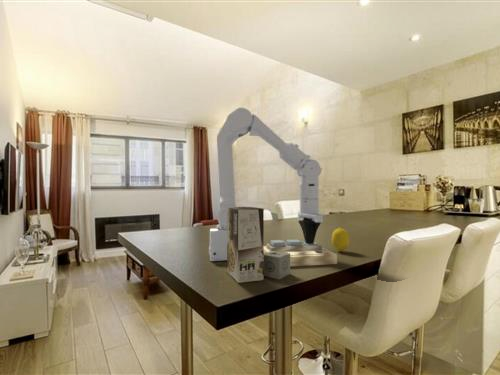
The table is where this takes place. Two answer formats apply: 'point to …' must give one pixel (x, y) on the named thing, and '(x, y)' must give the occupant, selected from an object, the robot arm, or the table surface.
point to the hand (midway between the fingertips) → (309, 243)
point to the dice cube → (276, 264)
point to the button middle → (293, 243)
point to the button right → (308, 244)
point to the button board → (305, 254)
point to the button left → (278, 243)
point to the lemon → (340, 239)
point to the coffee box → (245, 243)
